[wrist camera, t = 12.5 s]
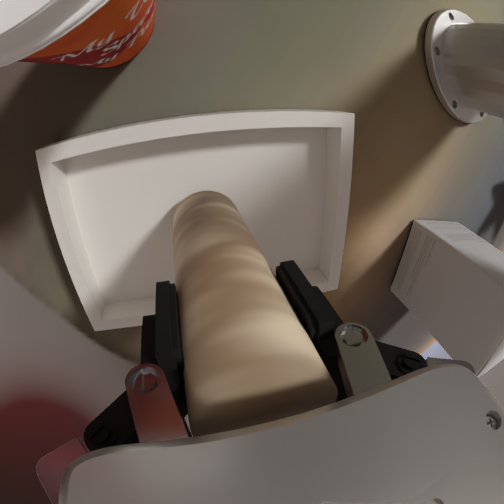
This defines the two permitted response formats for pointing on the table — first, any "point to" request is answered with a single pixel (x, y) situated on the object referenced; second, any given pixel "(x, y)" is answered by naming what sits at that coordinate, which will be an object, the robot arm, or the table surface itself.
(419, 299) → the supplement box
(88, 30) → the paper cup
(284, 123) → the tray
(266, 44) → the table surface
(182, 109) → the table surface
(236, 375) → the dowel
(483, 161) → the table surface
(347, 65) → the table surface
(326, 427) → the robot arm
